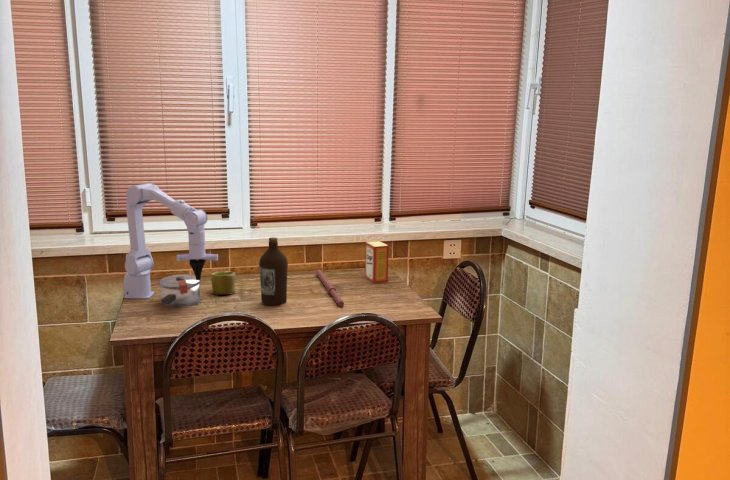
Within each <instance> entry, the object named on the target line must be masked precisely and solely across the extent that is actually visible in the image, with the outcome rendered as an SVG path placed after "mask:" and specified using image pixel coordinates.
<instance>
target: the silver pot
mask: <svg viewBox="0 0 730 480" xmlns="http://www.w3.org/2000/svg"><path fill="white" fill-rule="evenodd" d="M200 285H201V282H200V283H199V284H198V285H196V286H193V287H188V288H187V291H188V293H182V294H181V293H180V290H179V288H166V287H163V286H161V285H160V286H161V287H160V290H161V304H162V305H163V306H166V307H168V308H169V307H170V308H185V307H191V306H195V305H197V304H199V303H200V302H201V286H200Z"/></svg>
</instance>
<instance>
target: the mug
mask: <svg viewBox="0 0 730 480" xmlns="http://www.w3.org/2000/svg"><path fill="white" fill-rule="evenodd" d="M210 279H211V281H210V283H211V289H212V293H213V294H214V295H219V296H221V295H233V294H234V293H235V292H236V273H235V272H234V271H230V270H226V271H215V272H213V273H211V275H210Z"/></svg>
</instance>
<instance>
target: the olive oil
mask: <svg viewBox="0 0 730 480" xmlns="http://www.w3.org/2000/svg"><path fill="white" fill-rule="evenodd" d="M278 245H279V242H278V237H274V236H273V237H269V238H268V249H266V251H264V253H263V254H262V255H261V257H260V258H259V265H258V268H259V279H260V280H259V281H260V295H261V299H260V300H261V303H262V305H265V306H267V307H268V306H269V307H278V306H282V305H285V304H286V303H287V302H288V301H287V299H288V298H287V297H288V296H287V294H288V293H287V291H288V265H289V264H288V259H287V256H286V254H284V253H283V252H282V250H281V249H279V247H278Z"/></svg>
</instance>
